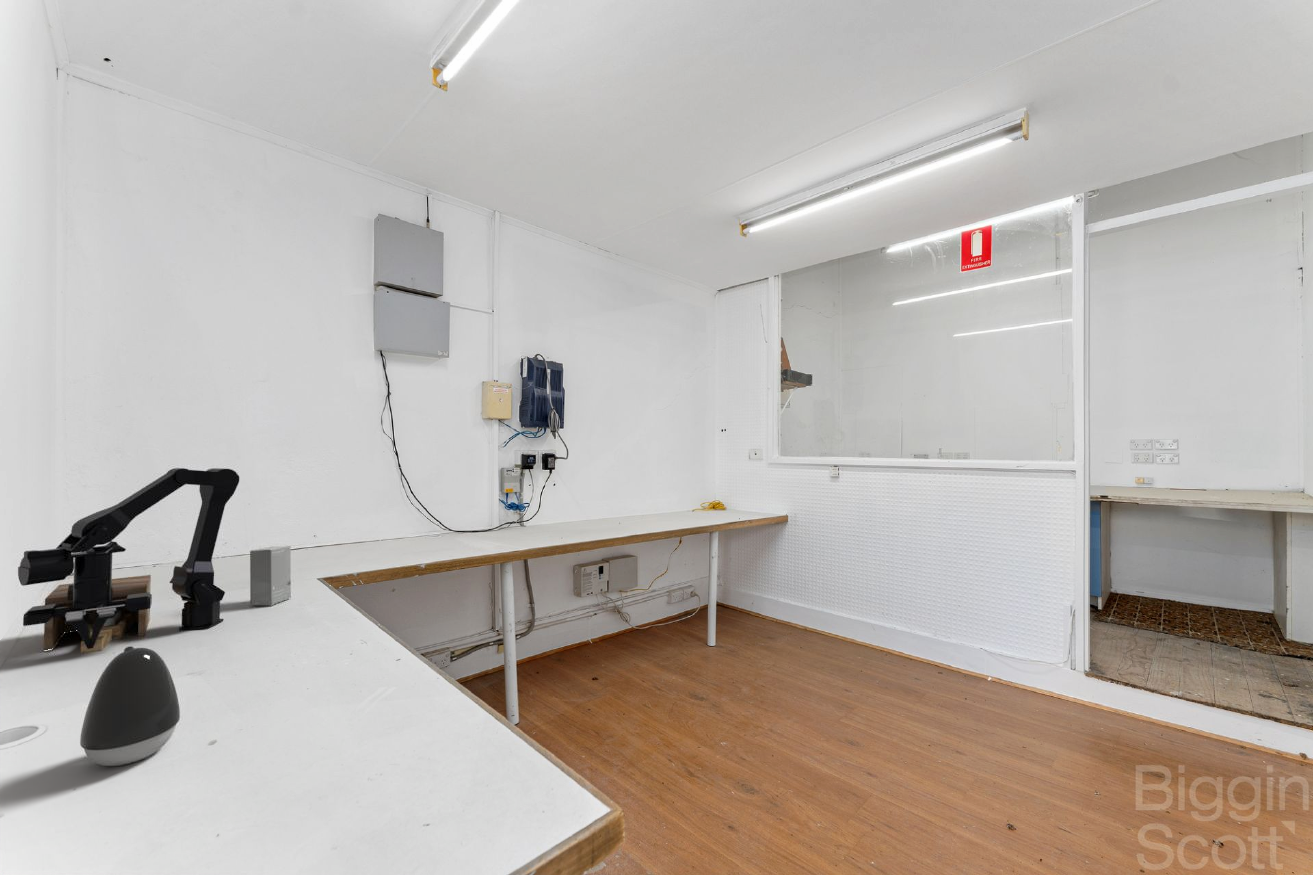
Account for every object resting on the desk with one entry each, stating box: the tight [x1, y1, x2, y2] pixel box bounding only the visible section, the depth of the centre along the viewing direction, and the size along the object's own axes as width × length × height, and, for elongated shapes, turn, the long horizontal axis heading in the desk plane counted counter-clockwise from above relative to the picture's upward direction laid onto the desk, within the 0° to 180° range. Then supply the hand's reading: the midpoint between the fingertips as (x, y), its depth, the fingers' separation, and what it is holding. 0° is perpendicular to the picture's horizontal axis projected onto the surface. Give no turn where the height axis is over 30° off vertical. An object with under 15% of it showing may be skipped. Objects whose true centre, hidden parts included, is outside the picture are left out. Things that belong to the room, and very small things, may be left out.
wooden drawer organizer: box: [43, 574, 152, 651], centre depth 127 cm, size 16×16×12 cm
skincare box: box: [249, 545, 292, 607], centre depth 154 cm, size 8×7×16 cm
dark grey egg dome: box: [79, 645, 181, 767], centre depth 77 cm, size 10×10×15 cm
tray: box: [80, 610, 134, 654], centre depth 124 cm, size 20×6×4 cm, turn 35°
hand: (90, 648), depth 115 cm, fingers closed
